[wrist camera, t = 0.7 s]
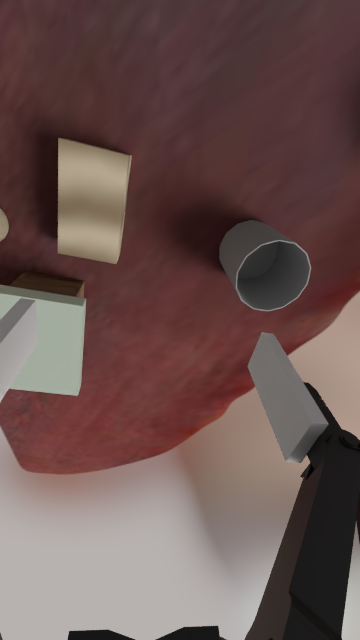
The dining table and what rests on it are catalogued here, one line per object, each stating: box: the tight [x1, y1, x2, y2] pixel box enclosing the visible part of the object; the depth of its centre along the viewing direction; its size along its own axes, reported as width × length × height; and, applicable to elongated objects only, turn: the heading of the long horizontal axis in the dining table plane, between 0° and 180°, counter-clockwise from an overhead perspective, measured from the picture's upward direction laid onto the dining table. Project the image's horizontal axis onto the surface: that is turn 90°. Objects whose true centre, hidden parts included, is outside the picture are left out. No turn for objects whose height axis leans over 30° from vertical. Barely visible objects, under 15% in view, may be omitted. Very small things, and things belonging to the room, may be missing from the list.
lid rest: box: [58, 138, 132, 264], centre depth 33 cm, size 12×7×4 cm, turn 167°
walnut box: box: [9, 271, 84, 298], centre depth 40 cm, size 14×8×6 cm, turn 167°
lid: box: [0, 285, 86, 396], centre depth 37 cm, size 15×11×2 cm
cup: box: [219, 220, 311, 311], centre depth 35 cm, size 8×8×10 cm
